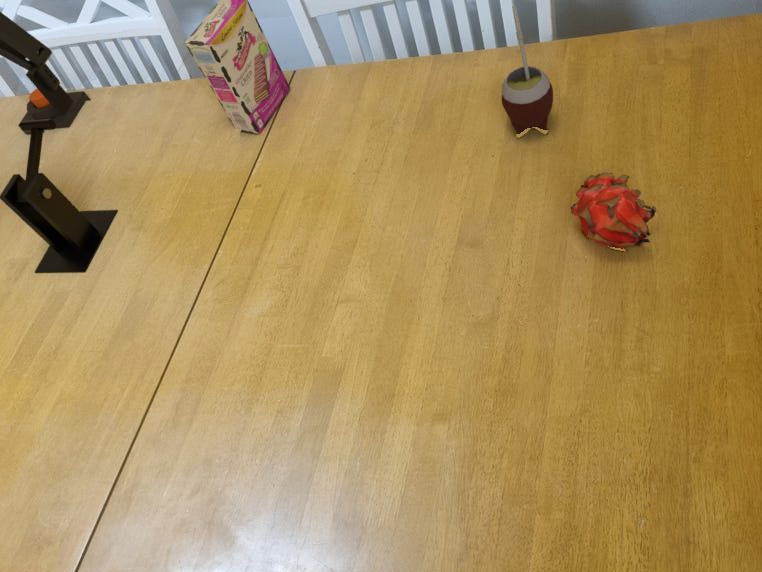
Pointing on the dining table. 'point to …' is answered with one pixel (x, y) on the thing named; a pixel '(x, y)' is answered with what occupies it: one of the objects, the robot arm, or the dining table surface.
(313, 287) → the dining table surface
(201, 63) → the candy bar box
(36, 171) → the switch lever
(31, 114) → the button box
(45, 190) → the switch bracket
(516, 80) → the mate gourd
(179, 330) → the dining table surface
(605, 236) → the dragon fruit
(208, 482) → the dining table surface
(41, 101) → the power button
